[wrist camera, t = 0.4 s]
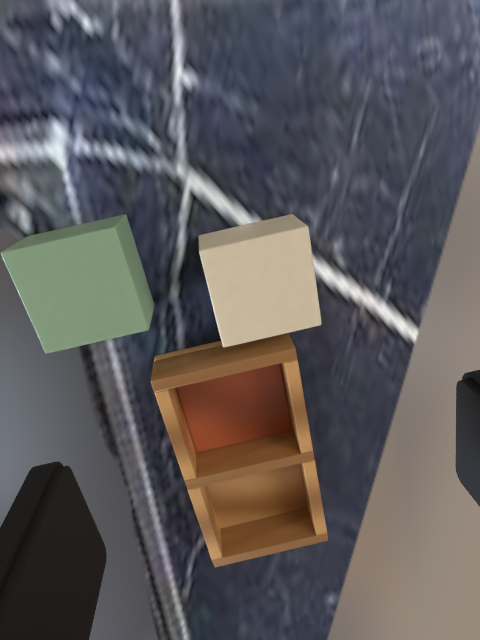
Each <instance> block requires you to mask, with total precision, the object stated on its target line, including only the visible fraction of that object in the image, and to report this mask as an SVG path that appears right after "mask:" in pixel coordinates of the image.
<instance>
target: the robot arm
mask: <svg viewBox="0 0 480 640" xmlns="http://www.w3.org/2000/svg"><path fill="white" fill-rule="evenodd" d="M456 391H457V393H456V397H457V398H456V472H457V475H458V478H459V480H460V482H461V483H462V484H463V486H464V487H465V488H466V490H467V491H468V492H469V493H470V495H471V496H472V497H473V499H474V500H475V501H476V502H477V504H478V505H479V506H480V370H477V371H472V372H468V373H465V374H464V375H463V377H462V380H461V381H458V383H457V388H456ZM105 564H106V548H105V545H104V543H103V540H102V538H101V535H100V533H99V531H98V529H97V526H96V524H95V522H94V520H93V517H92V515H91V513H90V511H89V508H88V506H87V504H86V501H85V499H84V497H83V495H82V492H81V490H80V488H79V486H78V483H77V481H76V479H75V477H74V474H73V472H72V470H71V468H70V467H69V466H65V467H64V466H63V465H62V464H61V463H60V462H53V463H48V464H44V465H40V466H35V467H33V468H32V469H31V470H30V471H29V473H28V475H27V477H26V479H25V481H24V483H23V485H22V487H21V489H20V491H19V493H18V495H17V496H16V498H15V500H14V502H13V504H12V506H11V508H10V510H9V512H8V514H7V516H6V518H5V520H4V522H3V524H2V526H1V527H0V640H89V636H90V632H91V628H92V623H93V619H94V614H95V610H96V605H97V600H98V596H99V591H100V586H101V582H102V578H103V573H104V568H105Z"/></svg>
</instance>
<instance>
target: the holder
mask: <svg viewBox="0 0 480 640" xmlns="http://www.w3.org/2000/svg"><path fill="white" fill-rule="evenodd" d="M151 385H152V387H153V390H154V392H155V396H156V399H157V402H158V405H159V408H160V411H161V414H162V417H163V419H164V422H165V425H166V428H167V431H168V434H169V437H170V440H171V443H172V446H173V449H174V451H175V454H176V457H177V460H178V463H179V466H180V469H181V472H182V475H183V478H184V480H185V484H186V486H187V489H188V492H189V495H190V498H191V501H192V504H193V507H194V510H195V513H196V516H197V518H198V521H199V524H200V527H201V530H202V533H203V536H204V539H205V542H206V545H207V548H208V550H209V553H210V556H211V559H212V562H213V565H214V567H219V566H223V565H227V564H231V563H235V562H240V561H244V560H248V559H252V558H256V557H261V556H265V555H269V554H273V553H277V552H282V551H286V550H290V549H294V548H299V547H303V546H307V545H311V544H315V543H320V542H324V541H328V535H327V529H326V523H325V517H324V512H323V506H322V500H321V494H320V488H319V482H318V476H317V470H316V465H315V460H314V453H313V447H312V441H311V436H310V430H309V424H308V418H307V412H306V406H305V400H304V395H303V389H302V383H301V377H300V371H299V365H298V360H297V354H296V348H295V346H294V344H293V342H292V340H291V338H290V336H289V334H288V333H285V334H280V335H276V336H272V337H267V338H263V339H259V340H255V341H250V342H246V343H242V344H237V345H233V346H229V347H223V345H222V341H217V342H213V343H209V344H204V345H200V346H196V347H191V348H187V349H183V350H178V351H174V352H170V353H165V354H161V355H157V356H155V359H154V365H153V371H152V377H151Z"/></svg>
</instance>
